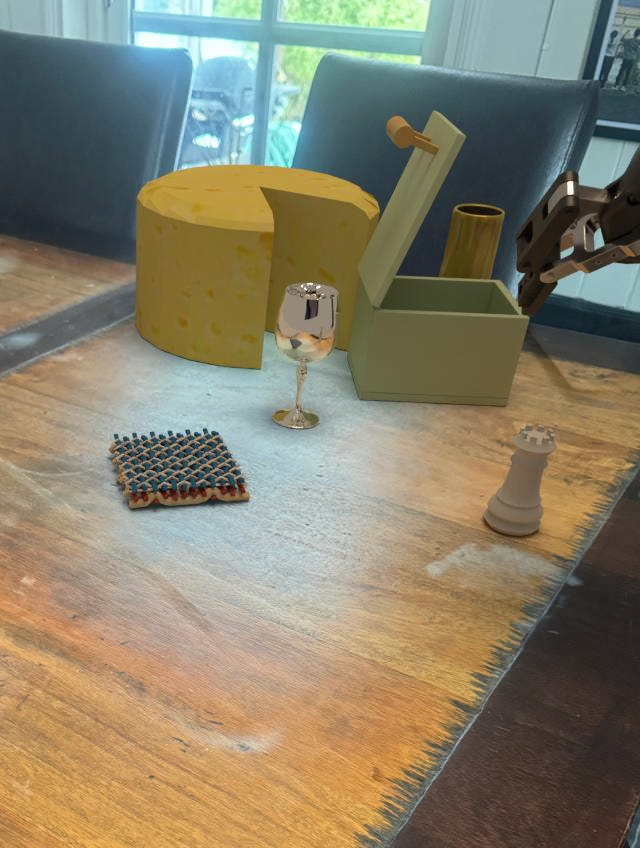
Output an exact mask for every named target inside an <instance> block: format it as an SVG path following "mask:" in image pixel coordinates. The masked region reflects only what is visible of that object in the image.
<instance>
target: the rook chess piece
mask: <svg viewBox="0 0 640 848" xmlns="http://www.w3.org/2000/svg"><path fill="white" fill-rule="evenodd" d="M545 427H546V425H543V424H538V425H537V428H536V429H533V428H534V425H533V423H528V424H527V423H526V424H525V426H523V425H522V426H521V427H520V429H519V432H518V433H516V434H515V435H514V436H513V437H512V439H511V441H512V444H513V446H514V449H515V451H514V453H513V454H511V455H510V457H509V459H510V462H511V463H510V468H509V470H508V472H507V475H506V477H505V479H504V482H503V484H502V485H501V486H500V487H499V488H498V489H496V491H495V493H494V494H492V495H491V496H490V498H489V499H488V501H487V503H486V505H487V507H486V508H485V509H484V511H483V516H484V519H485V522H486V524H487V525H488V526H489V527H490V528H491V529H493V530H494V531H496V532H498V533H500V534H504V535H508V536H515V537H522V536H523V537H524V536H528V535H531V534H532V533H534V532H536V531H537V530H540V527H541V525H542V521H541V519H542V517H543V515H544V513H545V512H544V507H543V505H542V503H541V502H542V498H541V484H542V478H543V474H544V471H545V469H546V468H548V466H549V462H548V456H550V455H551V454H552V453H554V452H555V451H556V450H557V449H558V446H557V443H556V441H555V437H556V433H555V431H554V430H553V429H552V428H548V429H547V431H545Z"/></svg>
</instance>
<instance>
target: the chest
mask: <svg viewBox="0 0 640 848" xmlns="http://www.w3.org/2000/svg"><path fill="white" fill-rule="evenodd" d="M529 323H530V316H526V315H522V312H521V307H518V300H517V299H516V298H515V297H514V296H513V294H512V293H511V292H510V290H509V289H508V288H507V286H506V285H505V284H504V283H503V281H502V280H501V279H490V280H487V279H463V278H440V277H439V276H437V277H436V276H417V275H416V276H415V275H395V277H394V279H393V281H392V283H391V285H390V287H389V289H388V291H387V293H386V294H385V296H384V298H383V300H382V302H381V304H380V306H379V307H376V306H373V305H371V302H370V300H369V297H368V294H367V292H366V289H365V287H364V284H363V282H362V279H361V277H360V274H359V280H358V287H357V293H356V300H355V306H354V313H353V319H352V326H351V332H350V339H349V345H348V351H346V358H347V361H348V365H349V368H350V371H351V375H352V378H353V381H354V385H355V389H356V392H357V395H358V398H359V400H360V401H361V400H363V401H364V400H365V401H385V402H386V401H387V402H408V403H409V402H410V403H426V404H427V403H428V404H429V403H430V404H449V405H451V404H453V405H471V406H472V405H475V406H496V407H506V406H507V405H508V401H509V398H510V393H511V389H512V385H513V383H514V380H515V379H514V378H515V375H516V372H517V367H518V363H519V360H520V357H521V353H522V349H523V345H524V341H525V338H526V334H527V330H528V326H529Z"/></svg>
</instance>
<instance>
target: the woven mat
mask: <svg viewBox="0 0 640 848" xmlns="http://www.w3.org/2000/svg"><path fill="white" fill-rule="evenodd" d="M184 432H185V435H186V436H185V435H184V434H183V433H181V432H176V434H175V435H174V434H173V430H167V435H168V437H166V435H165V434H163V433H159V434H158V437H157V436H156V432H155V431H149V436H150V438H148V435H147V436H146V435H145V434H141V436H140V438H139V437H138V433H137V432H131V436H132V439H131V440H130V437H129V436H127V435H125V436H124V435H123V437H122V439H120V436H119V434H118V433H113V438H114V441H113V442H111V445H110V446H109V448H107V451H108V452H109V453H110V454H112V455H116V456H114V457H113V459H112V460H111V462H112V463H113V465H114V466H115V467H116V468H118V469H117V470H118V473H117V474H116V476H115V479H116V483H119V484H121V485H123V486H125V487H124V490H123V491H122V494H123V495H124V496H125V498H127V499H128V500H129V501H128V504H129V505H128V506H129V509H135V508H136V509H138V508H143V507H144V508H145V507H147V506H149V505H150V504H151V503H152V504H159V503H160V504H161V505H164V506H169V507H170V506H184V505H198V504H201V503H204V502H207V501H208V500H211V501H213V500H220V501H224V502H239V501H240V502H241V501H249V500H250V499H251V495H250V494H251V493H250V491H246V489H247V488H248V486H249V483H248V482H246V481H249V477H248V476H245V475H244V473H242V469H243V468H240V467H241V464H240V463H237V461H238V460H236V459H235V457H234V453H233V452H231V450H230V449H229V448H228V445H227V444H226V442H225V440H224V437H223V436H222V434H220V433H219V431H216V430H211V432H210V433H209V429H208V428H207V427H204V428H202V432H198V431H194V432H193V434H192V432H191V430H190V429H189V428H188V429H184ZM202 433H203V435H202ZM236 463H237V464H236Z"/></svg>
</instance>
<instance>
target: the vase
mask: <svg viewBox="0 0 640 848" xmlns="http://www.w3.org/2000/svg"><path fill="white" fill-rule="evenodd" d="M505 214H506V213H505V210H504V209H502V208H500V207H496V206H493V205H488V204H482V203H461V204H457V205H456V206H454V208H453V210H452V215H451V221H450V226H449V230H448V234H447V239H446V244H445V250H444V254H443V258H442V262H441V266H440V270H439V274H438V277H440V278H463V279H487V280H491V277H492V274H493V269H494V265H495V261H496V260H495V259H496V256H497V251H498V246H499V243H500V238H501V234H502V228H503V224H504V219H505Z"/></svg>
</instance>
